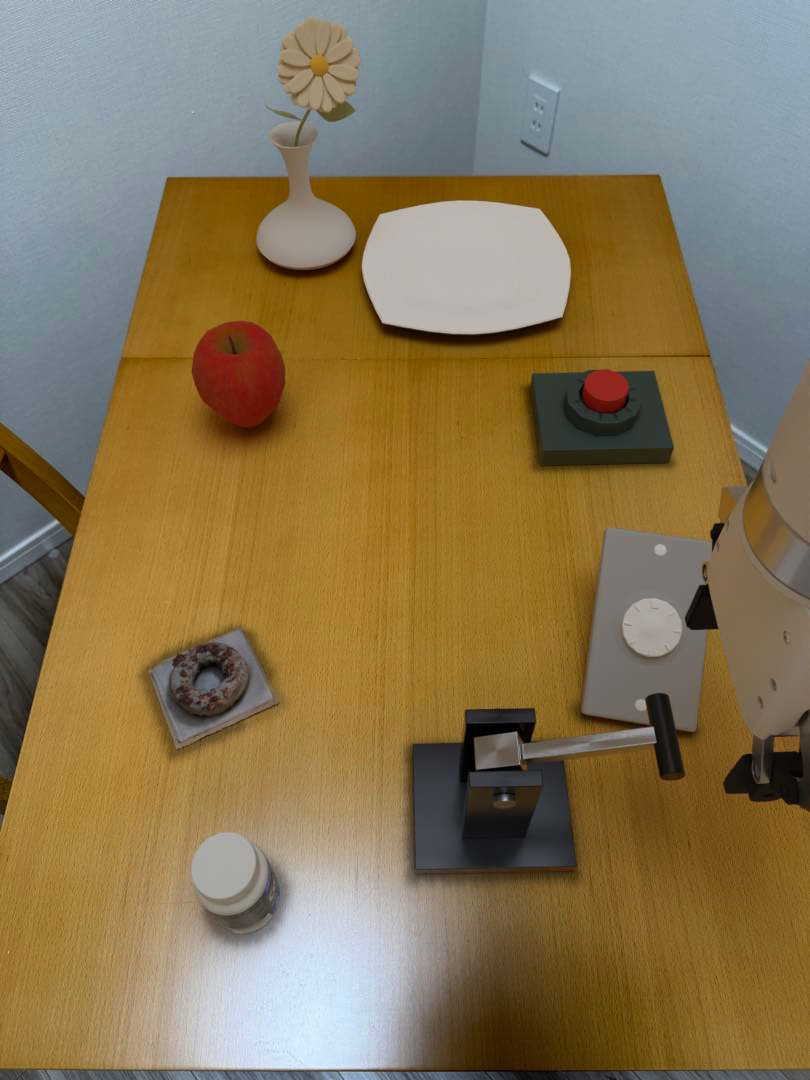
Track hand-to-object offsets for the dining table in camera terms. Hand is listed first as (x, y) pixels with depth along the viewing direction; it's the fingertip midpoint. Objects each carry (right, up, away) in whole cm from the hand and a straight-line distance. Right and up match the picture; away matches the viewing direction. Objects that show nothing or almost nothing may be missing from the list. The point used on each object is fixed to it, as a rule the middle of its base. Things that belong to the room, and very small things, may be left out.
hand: (731, 701), depth 47 cm
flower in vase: (-28, +43, +52) cm, 73 cm away
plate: (-11, +38, +49) cm, 63 cm away
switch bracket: (-12, -10, +15) cm, 21 cm away
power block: (+1, +20, +36) cm, 41 cm away
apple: (-33, +21, +37) cm, 54 cm away
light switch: (+1, 0, +22) cm, 22 cm away
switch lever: (-7, -4, +6) cm, 10 cm away
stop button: (0, +22, +33) cm, 39 cm away
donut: (-33, -3, +20) cm, 39 cm away
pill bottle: (-29, -16, +11) cm, 35 cm away
